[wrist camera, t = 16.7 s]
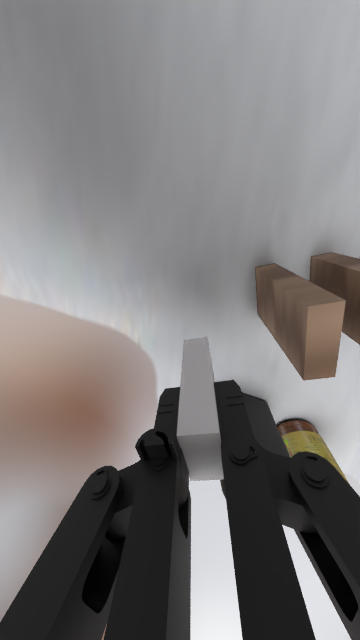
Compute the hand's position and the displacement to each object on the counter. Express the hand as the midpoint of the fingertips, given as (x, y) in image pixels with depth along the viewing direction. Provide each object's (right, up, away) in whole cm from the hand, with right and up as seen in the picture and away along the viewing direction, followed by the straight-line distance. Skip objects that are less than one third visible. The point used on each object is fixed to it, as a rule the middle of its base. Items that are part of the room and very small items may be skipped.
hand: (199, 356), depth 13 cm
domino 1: (+7, +5, +7) cm, 11 cm away
